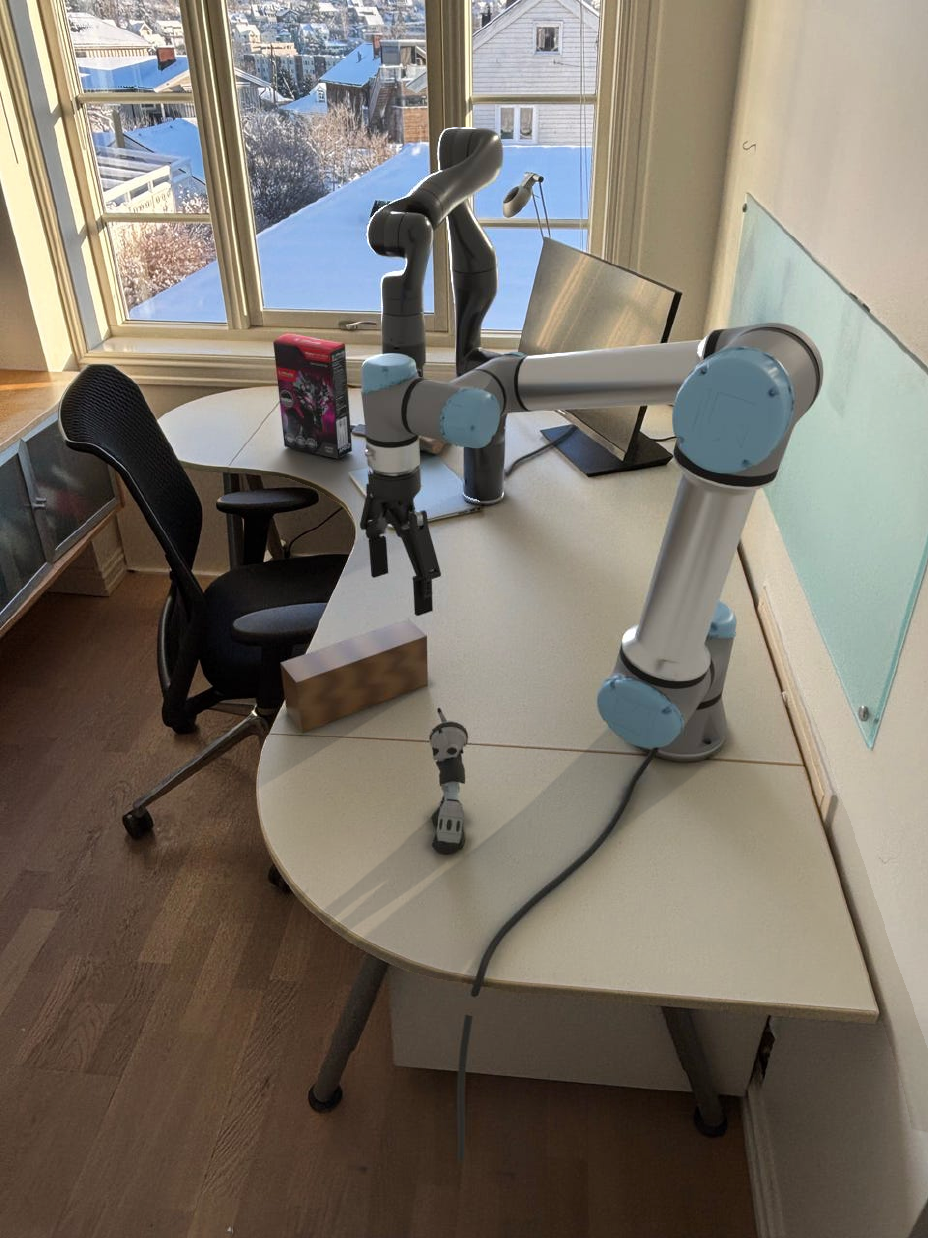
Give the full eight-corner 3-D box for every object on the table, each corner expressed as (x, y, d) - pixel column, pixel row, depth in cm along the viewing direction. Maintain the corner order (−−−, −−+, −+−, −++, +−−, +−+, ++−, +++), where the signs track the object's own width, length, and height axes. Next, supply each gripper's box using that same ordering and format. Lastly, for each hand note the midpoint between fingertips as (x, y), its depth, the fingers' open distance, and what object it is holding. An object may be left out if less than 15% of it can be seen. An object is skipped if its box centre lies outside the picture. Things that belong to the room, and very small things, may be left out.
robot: (470, 888, 117) (472, 772, 106) (432, 889, 117) (430, 773, 106) (463, 780, 133) (464, 669, 122) (429, 781, 133) (427, 670, 122)
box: (409, 666, 156) (408, 618, 151) (427, 684, 152) (427, 635, 147) (286, 712, 146) (280, 662, 141) (302, 733, 142) (296, 682, 136)
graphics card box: (282, 447, 232) (270, 339, 217) (298, 438, 237) (288, 331, 222) (338, 461, 225) (330, 350, 210) (354, 451, 230) (347, 342, 215)
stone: (352, 437, 229) (357, 414, 227) (374, 429, 242) (378, 406, 240) (431, 462, 226) (437, 438, 223) (448, 452, 239) (454, 429, 237)
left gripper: (396, 323, 164) (399, 410, 173) (368, 347, 153) (373, 439, 162) (436, 327, 163) (437, 415, 172) (411, 351, 151) (413, 444, 160)
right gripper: (331, 443, 138) (342, 566, 150) (415, 504, 121) (421, 638, 132) (375, 433, 142) (383, 553, 153) (463, 490, 124) (465, 621, 136)
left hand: (406, 426), depth 167 cm, fingers open, 8 cm apart
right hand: (401, 593), depth 143 cm, fingers open, 13 cm apart
